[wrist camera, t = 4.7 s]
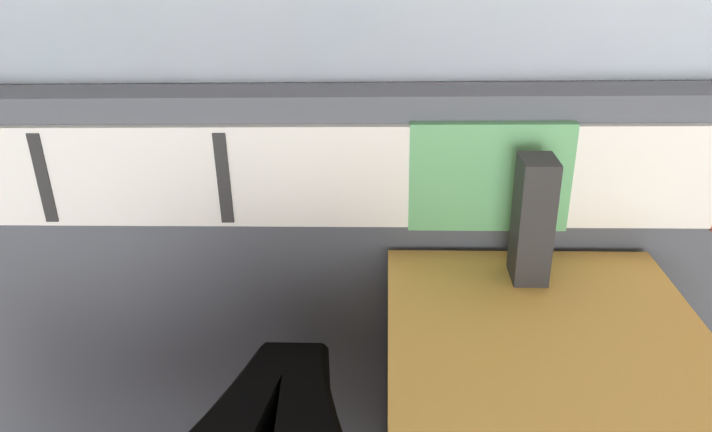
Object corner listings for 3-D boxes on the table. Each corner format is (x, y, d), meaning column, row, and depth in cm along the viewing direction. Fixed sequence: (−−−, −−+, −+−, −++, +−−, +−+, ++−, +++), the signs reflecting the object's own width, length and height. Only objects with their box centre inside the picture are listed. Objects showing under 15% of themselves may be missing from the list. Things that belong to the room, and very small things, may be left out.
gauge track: (786, 500, 17) (961, 754, 12) (-34, 481, 18) (-203, 704, 13) (938, 78, 12) (1332, 189, 7) (-177, 85, 13) (-530, 186, 8)
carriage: (609, 449, 14) (711, 689, 10) (387, 444, 15) (386, 677, 10) (668, 140, 11) (853, 281, 7) (388, 140, 12) (389, 277, 7)
